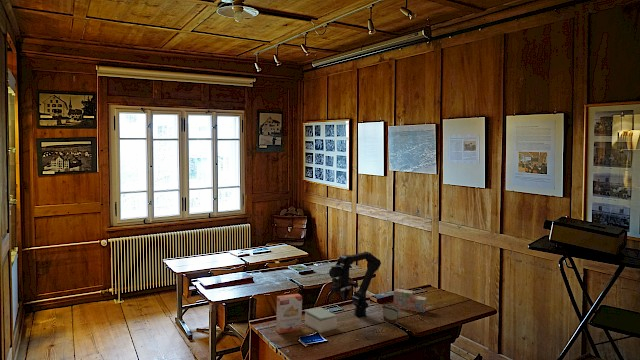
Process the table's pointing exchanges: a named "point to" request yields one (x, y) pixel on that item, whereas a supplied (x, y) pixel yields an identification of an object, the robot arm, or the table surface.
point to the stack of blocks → (409, 300)
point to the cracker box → (289, 313)
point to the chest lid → (320, 313)
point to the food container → (390, 313)
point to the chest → (320, 323)
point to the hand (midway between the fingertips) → (344, 300)
